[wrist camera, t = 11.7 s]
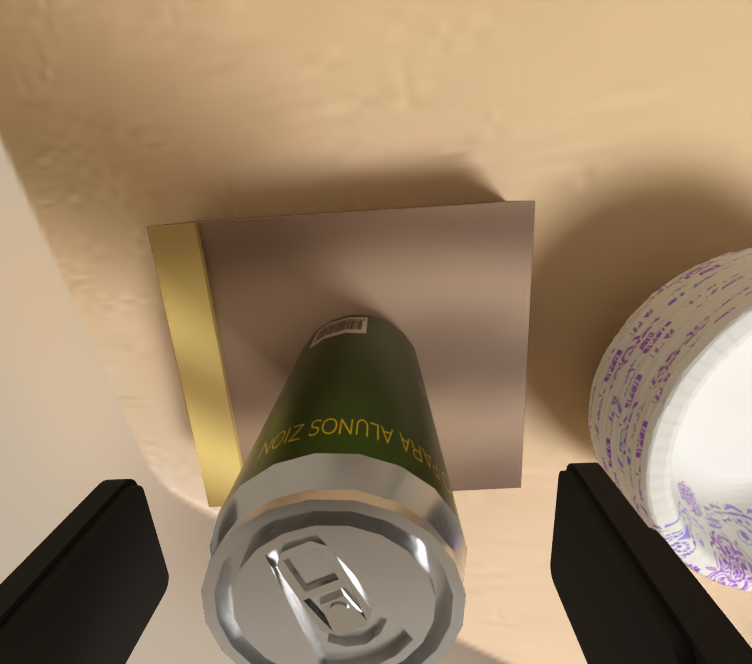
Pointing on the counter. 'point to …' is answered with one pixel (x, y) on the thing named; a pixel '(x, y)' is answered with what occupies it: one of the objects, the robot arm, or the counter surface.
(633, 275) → the counter surface
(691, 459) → the paper bowls
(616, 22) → the counter surface
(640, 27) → the counter surface
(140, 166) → the counter surface
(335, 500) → the beer can
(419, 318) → the gold striped gift box
